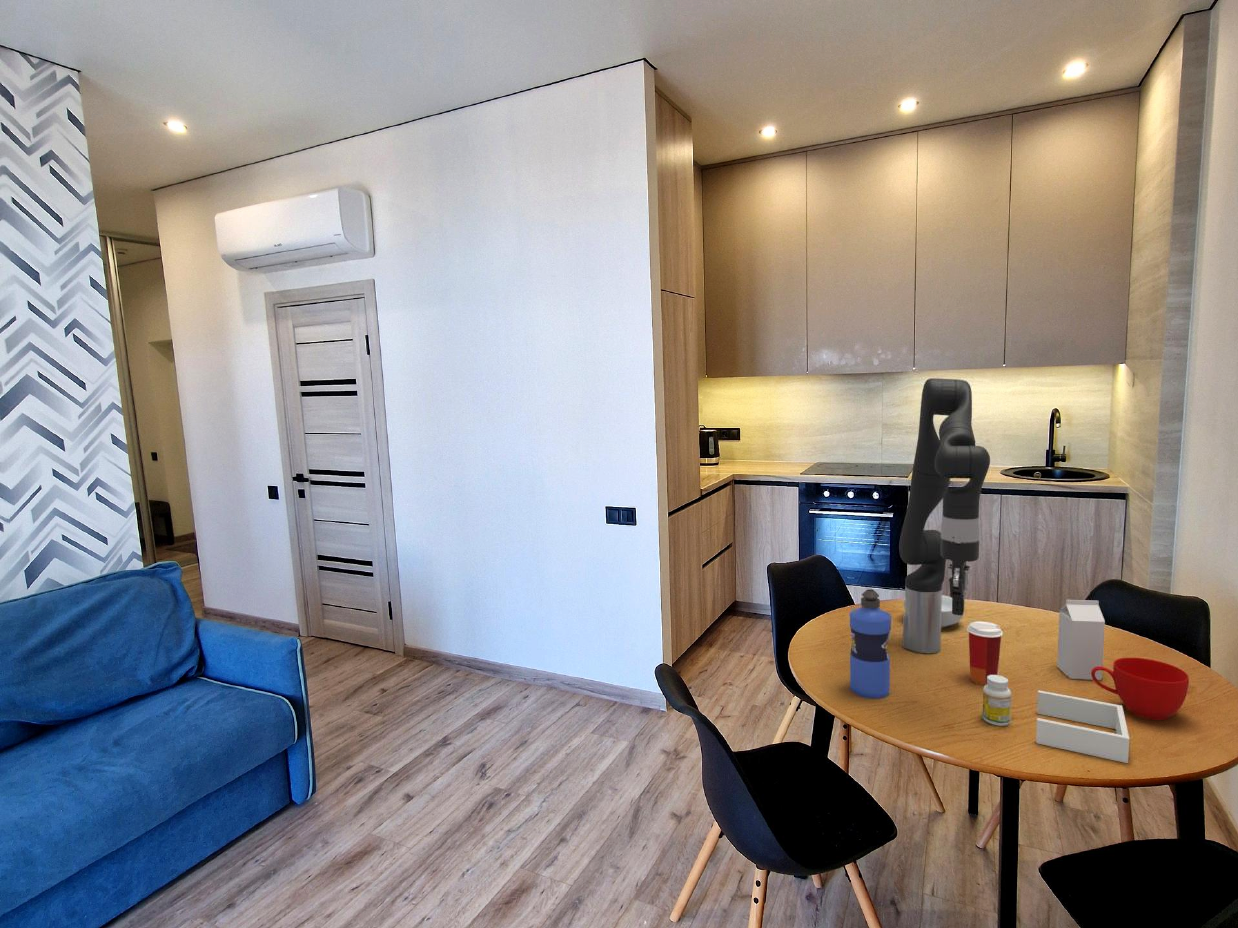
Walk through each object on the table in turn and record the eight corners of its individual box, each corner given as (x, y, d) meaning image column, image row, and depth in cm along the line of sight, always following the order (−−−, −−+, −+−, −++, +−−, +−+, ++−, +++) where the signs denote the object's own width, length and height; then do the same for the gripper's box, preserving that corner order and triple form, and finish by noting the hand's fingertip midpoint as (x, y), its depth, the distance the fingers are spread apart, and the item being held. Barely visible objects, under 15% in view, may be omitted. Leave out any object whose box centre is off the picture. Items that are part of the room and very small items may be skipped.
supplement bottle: (1007, 729, 142) (1009, 686, 141) (979, 721, 145) (980, 679, 144) (1012, 718, 146) (1014, 677, 145) (985, 711, 149) (986, 671, 148)
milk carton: (1102, 680, 162) (1106, 605, 160) (1069, 679, 163) (1072, 604, 161) (1087, 668, 169) (1091, 596, 167) (1056, 666, 170) (1059, 595, 168)
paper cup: (997, 675, 167) (999, 621, 165) (1004, 689, 159) (1006, 633, 158) (962, 672, 169) (964, 619, 168) (967, 685, 162) (969, 630, 160)
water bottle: (848, 695, 159) (848, 594, 156) (850, 679, 168) (850, 583, 165) (890, 701, 156) (891, 598, 153) (890, 683, 164) (891, 586, 161)
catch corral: (1036, 742, 136) (1037, 719, 135) (1037, 711, 149) (1038, 690, 148) (1127, 763, 128) (1129, 738, 127) (1120, 728, 140) (1122, 705, 140)
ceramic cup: (1087, 690, 157) (1089, 650, 156) (1179, 706, 149) (1182, 663, 147) (1092, 715, 146) (1094, 671, 145) (1192, 733, 138) (1195, 687, 136)
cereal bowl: (960, 637, 191) (960, 613, 191) (898, 627, 200) (899, 605, 200) (966, 619, 206) (967, 597, 205) (908, 610, 215) (909, 589, 214)
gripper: (944, 529, 153) (943, 601, 155) (936, 541, 141) (935, 620, 144) (982, 532, 149) (979, 606, 151) (976, 545, 137) (974, 626, 139)
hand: (958, 613), depth 147 cm, fingers closed
